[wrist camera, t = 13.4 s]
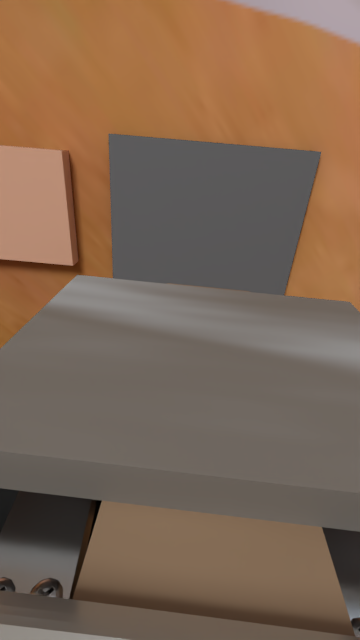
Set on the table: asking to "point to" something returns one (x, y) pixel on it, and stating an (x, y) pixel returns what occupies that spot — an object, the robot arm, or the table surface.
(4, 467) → the brown grey block
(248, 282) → the mat
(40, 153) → the tile
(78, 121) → the table surface
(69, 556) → the robot arm
